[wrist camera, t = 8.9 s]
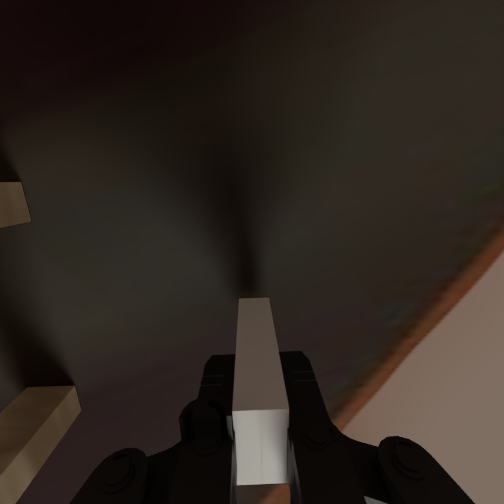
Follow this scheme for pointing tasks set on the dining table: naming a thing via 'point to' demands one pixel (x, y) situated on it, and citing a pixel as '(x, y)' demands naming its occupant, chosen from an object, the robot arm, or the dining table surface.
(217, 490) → the robot arm
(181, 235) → the dining table surface
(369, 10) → the dining table surface
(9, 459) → the bridge
